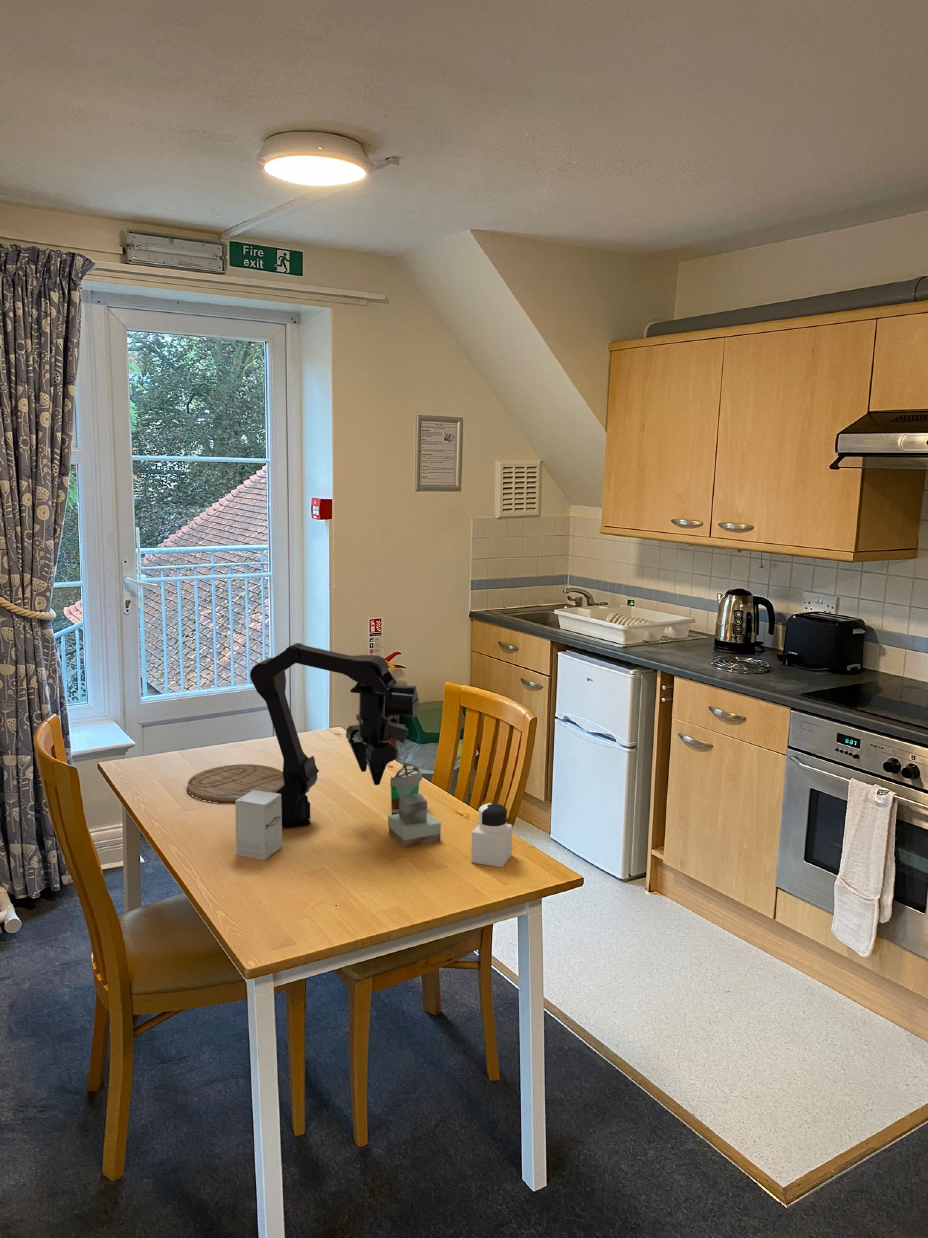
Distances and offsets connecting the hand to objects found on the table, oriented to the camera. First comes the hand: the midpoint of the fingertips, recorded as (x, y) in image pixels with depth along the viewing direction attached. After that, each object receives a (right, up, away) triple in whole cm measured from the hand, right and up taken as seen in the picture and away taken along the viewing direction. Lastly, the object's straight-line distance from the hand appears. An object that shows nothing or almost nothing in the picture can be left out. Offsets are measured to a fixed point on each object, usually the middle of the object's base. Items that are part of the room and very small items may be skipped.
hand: (370, 778), depth 214 cm
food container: (+8, -10, +15) cm, 20 cm away
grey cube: (+10, -9, -2) cm, 14 cm away
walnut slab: (+10, -14, -1) cm, 17 cm away
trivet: (-37, -7, +29) cm, 48 cm away
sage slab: (+10, -11, -2) cm, 15 cm away
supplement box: (-23, -14, -10) cm, 29 cm away
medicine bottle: (+27, -16, -12) cm, 34 cm away
